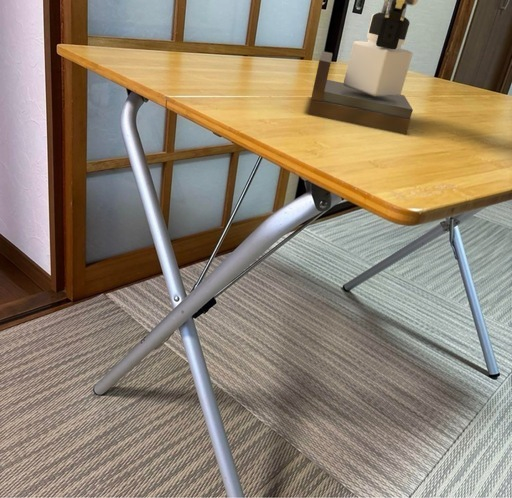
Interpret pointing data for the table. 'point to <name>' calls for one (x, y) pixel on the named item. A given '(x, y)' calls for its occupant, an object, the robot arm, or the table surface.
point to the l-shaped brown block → (356, 103)
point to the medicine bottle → (378, 63)
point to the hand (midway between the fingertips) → (384, 44)
